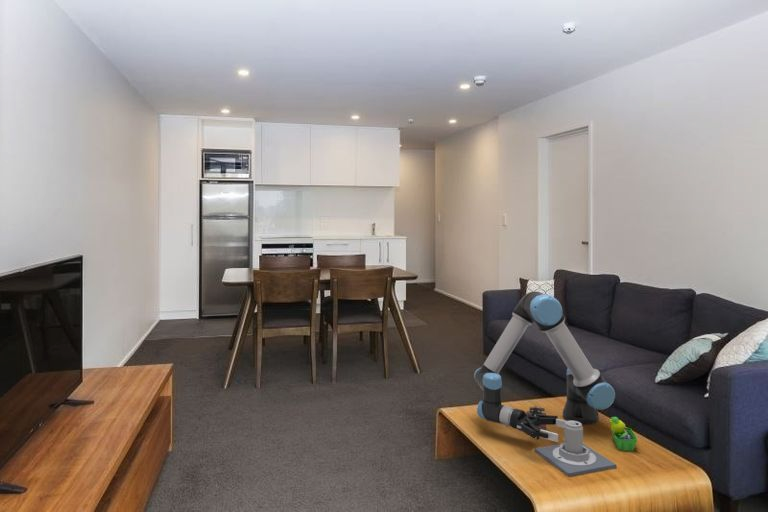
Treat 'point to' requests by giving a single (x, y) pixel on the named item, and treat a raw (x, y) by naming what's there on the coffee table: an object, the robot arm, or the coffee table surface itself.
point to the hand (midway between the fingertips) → (565, 432)
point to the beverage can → (573, 437)
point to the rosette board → (575, 469)
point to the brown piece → (536, 411)
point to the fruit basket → (622, 435)
